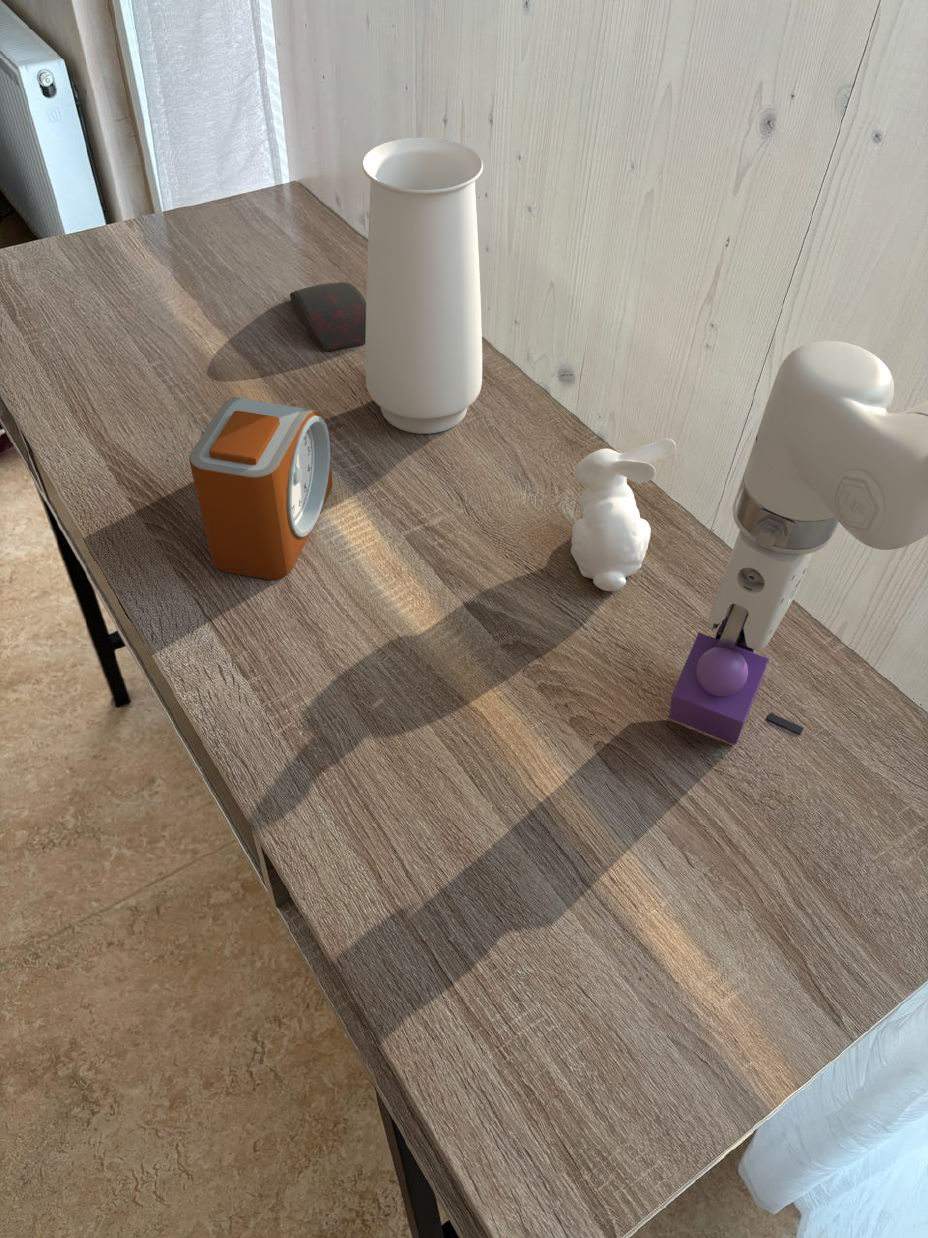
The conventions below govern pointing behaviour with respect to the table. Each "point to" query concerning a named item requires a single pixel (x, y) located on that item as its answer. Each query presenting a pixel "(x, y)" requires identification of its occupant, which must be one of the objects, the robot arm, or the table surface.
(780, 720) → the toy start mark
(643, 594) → the table surface
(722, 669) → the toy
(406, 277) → the vase
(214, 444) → the alarm clock
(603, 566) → the rabbit
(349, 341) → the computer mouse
